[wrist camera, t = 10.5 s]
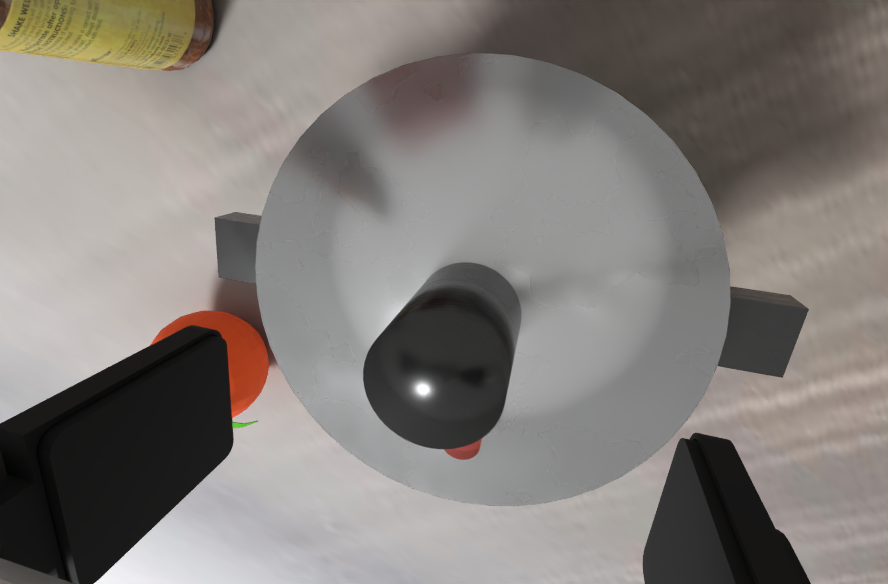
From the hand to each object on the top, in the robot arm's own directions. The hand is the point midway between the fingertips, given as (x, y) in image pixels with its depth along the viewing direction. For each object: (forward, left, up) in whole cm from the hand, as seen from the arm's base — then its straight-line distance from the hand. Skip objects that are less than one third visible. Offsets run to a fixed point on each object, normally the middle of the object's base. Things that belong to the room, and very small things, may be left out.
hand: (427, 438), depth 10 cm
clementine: (+17, +10, -19) cm, 27 cm away
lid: (0, 0, -8) cm, 8 cm away
